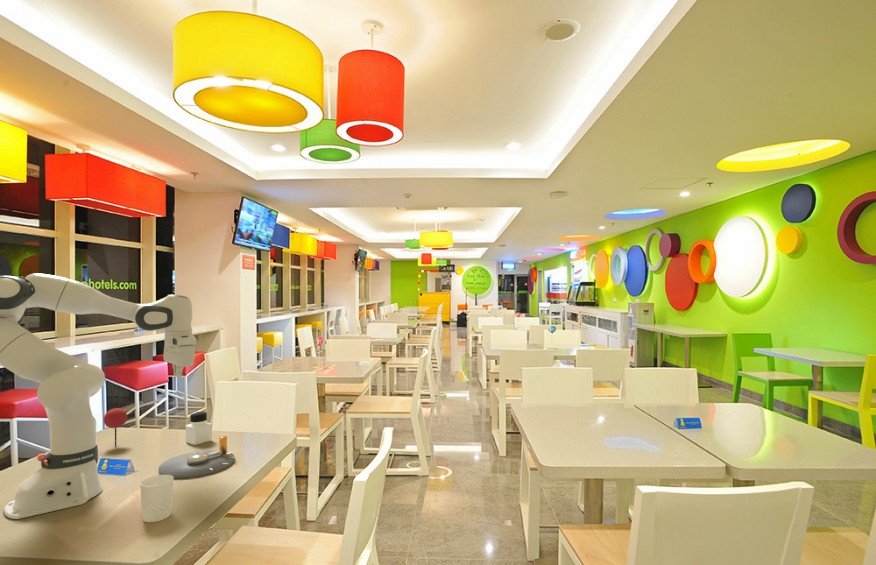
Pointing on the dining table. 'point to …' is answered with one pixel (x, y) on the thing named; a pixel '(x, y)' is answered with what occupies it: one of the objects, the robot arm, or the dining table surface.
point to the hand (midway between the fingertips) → (177, 376)
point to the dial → (204, 456)
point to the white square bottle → (198, 429)
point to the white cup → (156, 497)
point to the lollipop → (115, 419)
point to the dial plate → (195, 466)
